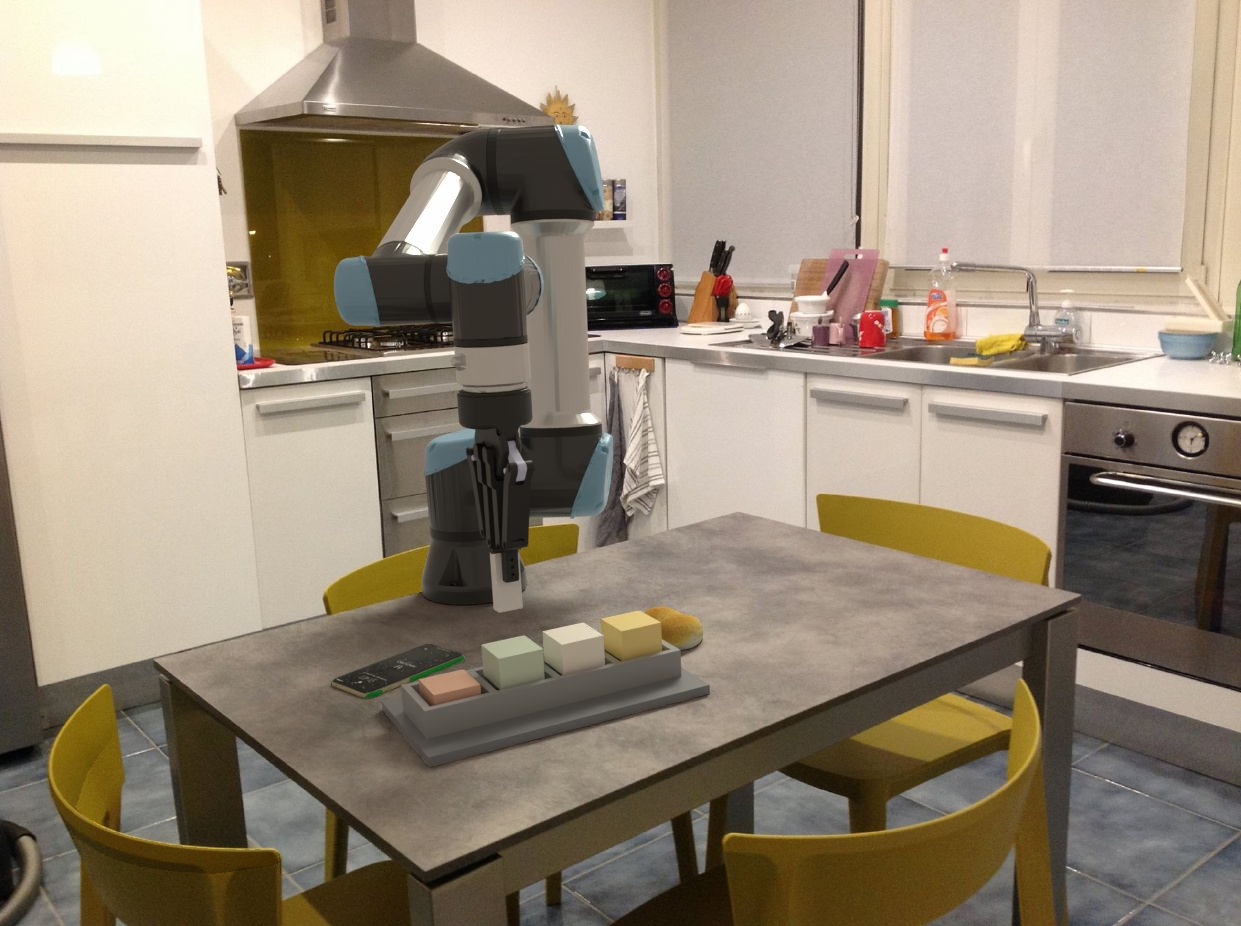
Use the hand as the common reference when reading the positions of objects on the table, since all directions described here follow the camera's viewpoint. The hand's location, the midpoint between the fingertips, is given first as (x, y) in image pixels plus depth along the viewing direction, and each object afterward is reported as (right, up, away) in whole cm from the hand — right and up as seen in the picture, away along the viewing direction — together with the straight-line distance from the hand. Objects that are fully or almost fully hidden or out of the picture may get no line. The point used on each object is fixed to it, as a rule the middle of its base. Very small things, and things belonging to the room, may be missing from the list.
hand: (508, 608), depth 119 cm
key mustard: (+13, -6, +8) cm, 17 cm away
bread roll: (+18, -7, +22) cm, 29 cm away
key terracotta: (-6, -11, -1) cm, 12 cm away
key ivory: (+7, -7, +5) cm, 11 cm away
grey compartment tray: (+4, -11, +4) cm, 12 cm away
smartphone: (-14, -10, +15) cm, 23 cm away
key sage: (0, -8, +2) cm, 8 cm away
